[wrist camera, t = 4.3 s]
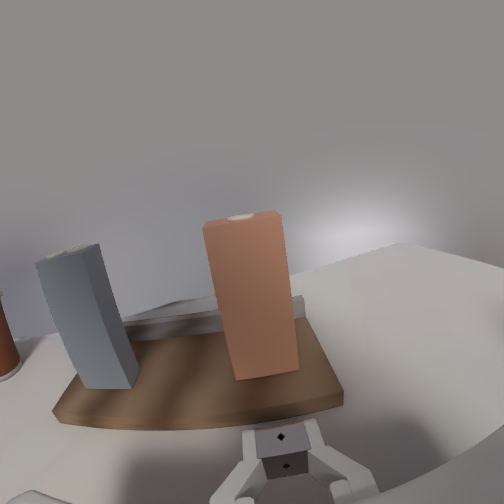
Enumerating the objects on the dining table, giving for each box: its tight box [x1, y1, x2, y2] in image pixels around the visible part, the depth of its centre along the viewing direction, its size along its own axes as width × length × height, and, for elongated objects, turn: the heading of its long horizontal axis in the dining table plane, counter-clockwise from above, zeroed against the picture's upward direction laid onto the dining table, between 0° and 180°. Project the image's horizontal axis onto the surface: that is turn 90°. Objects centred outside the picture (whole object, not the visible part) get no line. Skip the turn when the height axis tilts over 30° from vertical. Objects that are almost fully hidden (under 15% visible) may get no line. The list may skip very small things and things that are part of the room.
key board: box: [52, 295, 344, 430], centre depth 25 cm, size 24×16×4 cm, turn 94°
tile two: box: [35, 244, 140, 389], centre depth 21 cm, size 5×3×12 cm, turn 94°
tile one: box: [202, 211, 299, 381], centre depth 21 cm, size 5×3×12 cm, turn 94°
